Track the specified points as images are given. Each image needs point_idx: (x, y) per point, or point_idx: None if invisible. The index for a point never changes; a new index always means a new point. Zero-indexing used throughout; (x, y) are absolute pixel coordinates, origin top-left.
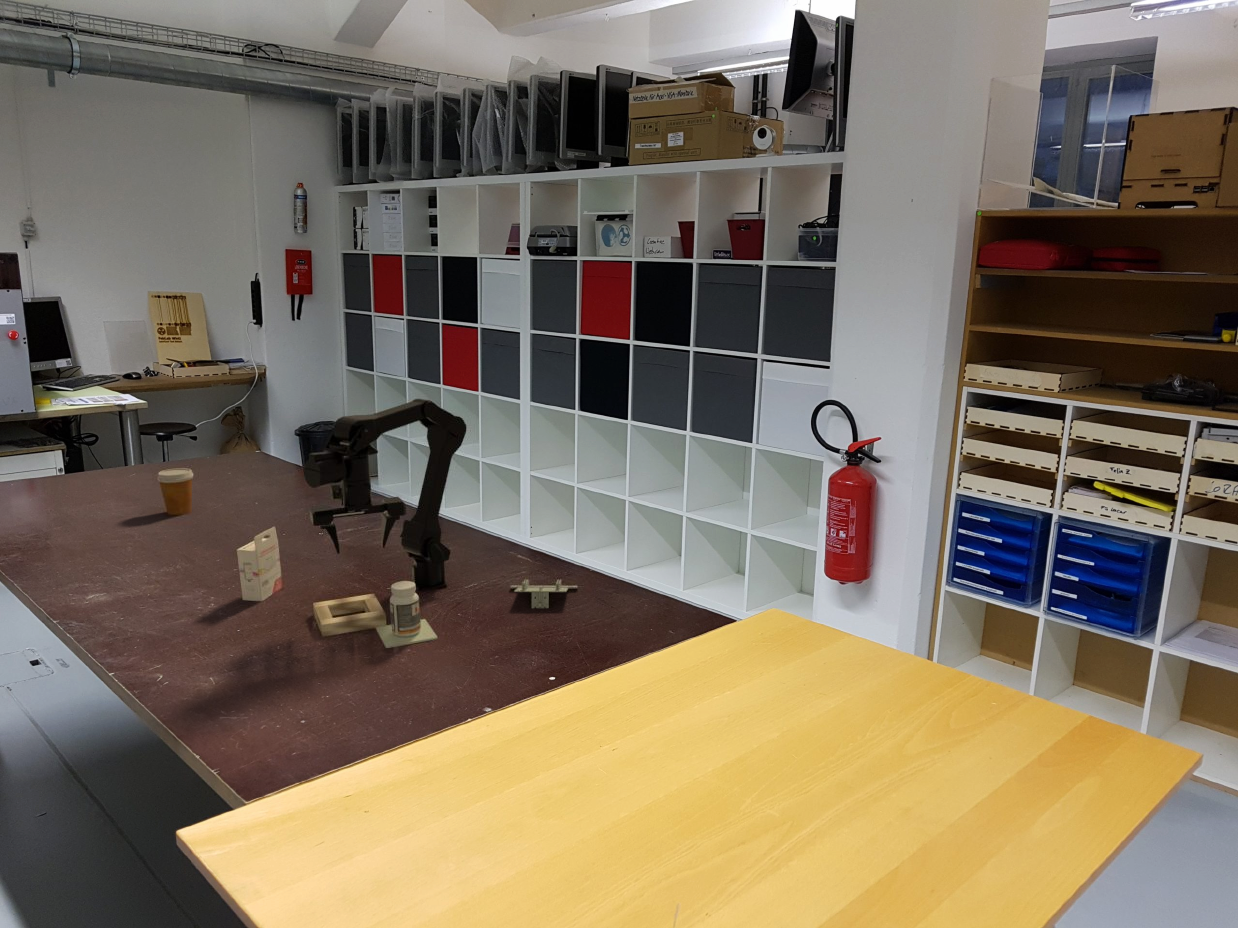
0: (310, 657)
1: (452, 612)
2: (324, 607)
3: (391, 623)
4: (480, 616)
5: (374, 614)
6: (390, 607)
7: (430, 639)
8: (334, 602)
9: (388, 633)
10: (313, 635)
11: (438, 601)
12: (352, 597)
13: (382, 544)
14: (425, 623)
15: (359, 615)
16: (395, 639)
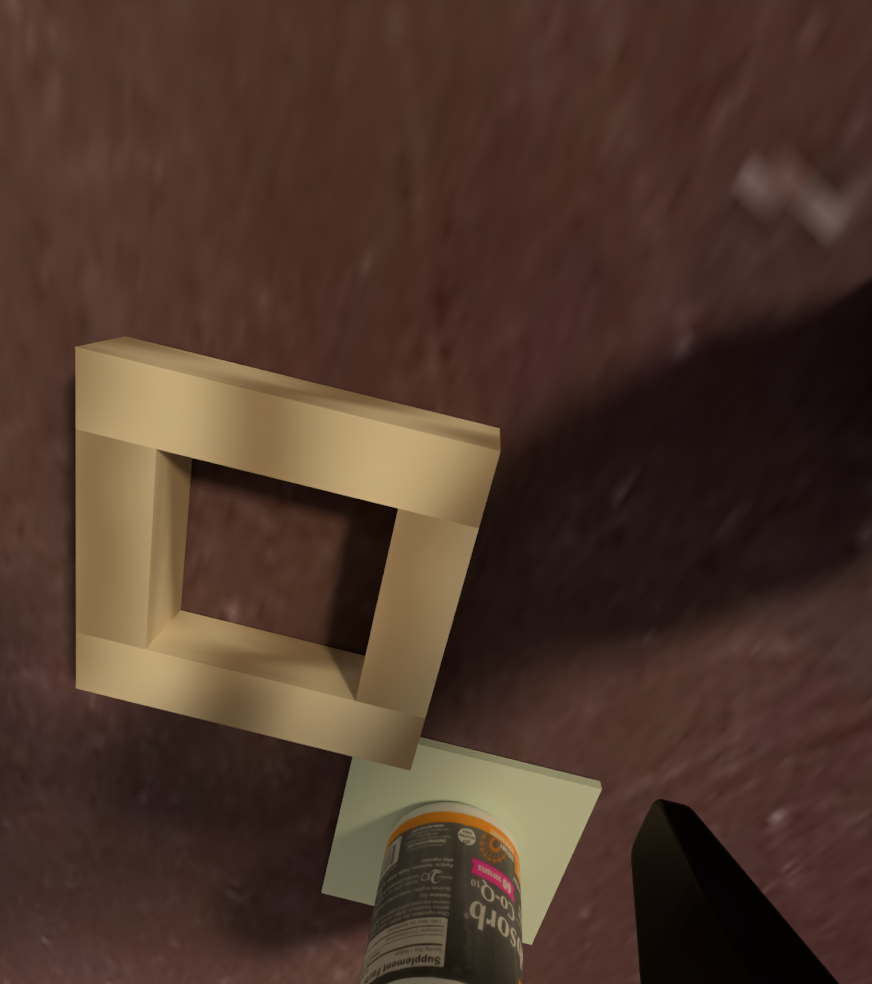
0: (39, 782)
1: (769, 783)
2: (133, 473)
3: (379, 881)
4: (831, 887)
5: (358, 739)
6: (360, 978)
7: None
8: (210, 434)
9: (379, 813)
10: None
11: (828, 625)
12: (345, 422)
13: (637, 919)
14: (570, 828)
15: (284, 703)
16: (379, 869)
